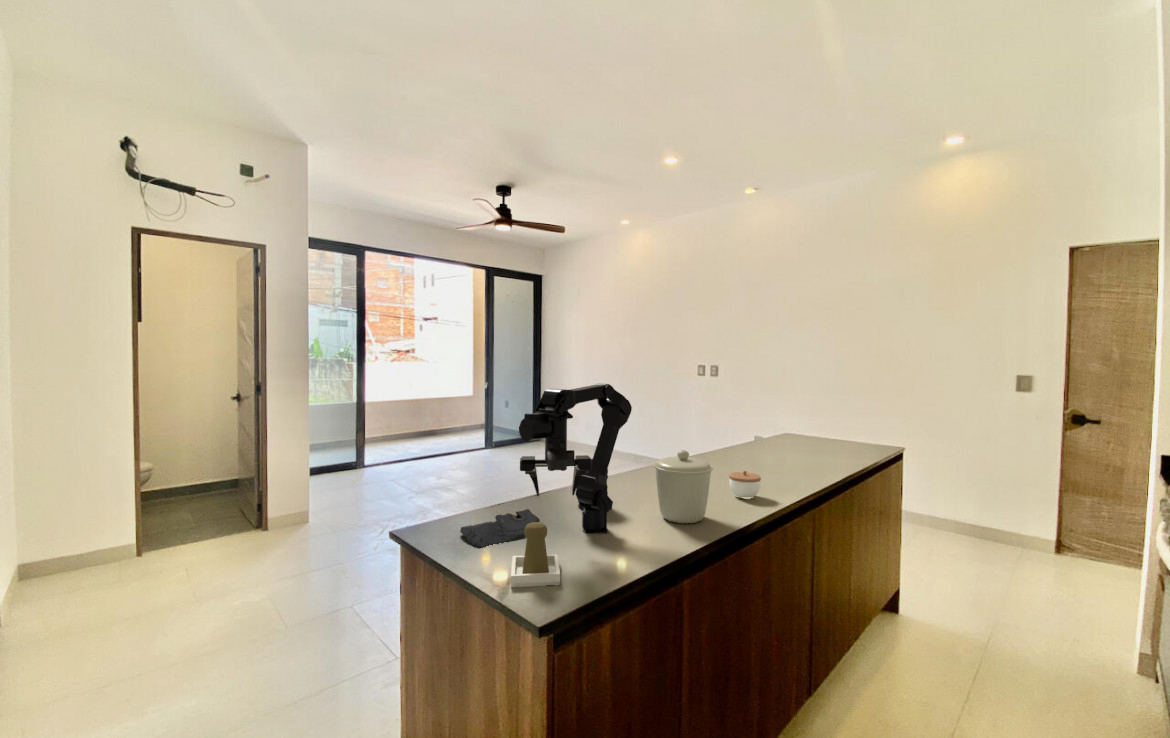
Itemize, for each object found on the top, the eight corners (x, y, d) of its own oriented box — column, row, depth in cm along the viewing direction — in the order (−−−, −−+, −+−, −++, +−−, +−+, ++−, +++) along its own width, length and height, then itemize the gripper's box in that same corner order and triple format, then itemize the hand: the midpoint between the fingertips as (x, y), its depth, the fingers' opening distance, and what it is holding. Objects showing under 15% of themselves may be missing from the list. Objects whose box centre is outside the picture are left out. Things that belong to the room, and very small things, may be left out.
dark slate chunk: (453, 534, 139) (453, 517, 139) (522, 519, 152) (523, 504, 152) (476, 552, 126) (476, 534, 126) (549, 534, 139) (549, 517, 139)
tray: (557, 564, 118) (557, 554, 118) (560, 585, 108) (560, 573, 108) (512, 566, 117) (512, 556, 117) (510, 587, 106) (510, 576, 106)
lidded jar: (739, 491, 183) (740, 466, 183) (766, 498, 175) (766, 471, 174) (722, 496, 176) (722, 470, 176) (749, 503, 168) (749, 476, 168)
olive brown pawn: (517, 569, 113) (518, 522, 113) (541, 563, 117) (541, 517, 116) (529, 579, 108) (529, 530, 108) (553, 573, 112) (553, 525, 111)
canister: (643, 512, 158) (643, 446, 157) (693, 507, 164) (693, 443, 163) (669, 531, 141) (670, 458, 140) (724, 525, 146) (725, 454, 146)
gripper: (519, 442, 121) (519, 505, 121) (595, 441, 123) (594, 503, 123) (520, 435, 132) (520, 493, 132) (589, 434, 134) (589, 491, 134)
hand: (555, 495), depth 130 cm, fingers open, 9 cm apart
